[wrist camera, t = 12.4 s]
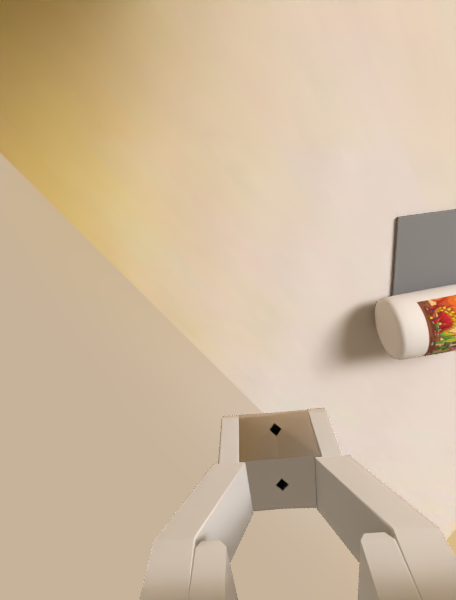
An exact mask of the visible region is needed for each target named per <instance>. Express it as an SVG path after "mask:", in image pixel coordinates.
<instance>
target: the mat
mask: <svg viewBox="0 0 456 600" xmlns="http://www.w3.org/2000/svg"><path fill="white" fill-rule="evenodd" d="M453 284H456V209H454V210H446V211H439V212H431V213H424V214H416V215H409V216H401V217H397V226H396V241H395V256H394V271H393V286H392V296H394V295H399V294H405V293H410V292H415V291H421V290H426V289H431V288H437V287H442V286H448V285H453Z"/></svg>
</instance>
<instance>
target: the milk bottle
mask: <svg viewBox="0 0 456 600" xmlns="http://www.w3.org/2000/svg"><path fill="white" fill-rule="evenodd" d="M375 323H376V328H377V332H378V335H379V338H380V341H381V343H382V345H383V347H384V349H385V350H386V352H387V353H388V354H389V355H390V356H391V357H393V358H395V359H408V358H414V357H420V356H426V355H432V354H438V353H444V352H450V351H456V284H453V285H448V286H442V287H437V288H431V289H426V290H421V291H415V292H410V293H405V294H399V295H394V296H389V297H385V298H382V299H380V300H379V301H378V302H377V304H376V307H375Z"/></svg>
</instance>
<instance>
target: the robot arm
mask: <svg viewBox="0 0 456 600" xmlns="http://www.w3.org/2000/svg"><path fill="white" fill-rule="evenodd" d="M284 508H285V509H286V508H317V510H318V511H319V512H320V513H321V515H322V516H323V517H324V518H325V520H326V521H327V522H328V523H329V525H330V526H331V527H332V529H333V530H334V531H335V532H336V534H337V535H338V536H339V537H340V539H341V540H342V541H343V542H344V544H345V545H346V546H347V548H348V549H349V550H350V551H351V553H352V554H353V555H354V556H355V558H356V559H357V560H358V562H359V563H360V564H359V588H358V600H456V556H455V554H454V553H453V551H452V549H451V547H450V545H449V544H448V542H447V540H446V538H445V537H444V535H443V533H442V531H441V530H440V528H439V527H438V526H436V525H435V524H434V523H433V522H432V521H430V520H429V519H428V518H427V517H425V516H424V515H423V514H422V513H420V512H419V511H418V510H417V509H415V508H414V507H413V506H412V505H410V504H409V503H408V502H407V501H406V500H404V499H403V498H402V497H401V496H399V495H398V494H397V493H396V492H394V491H393V490H392V489H391V488H389V487H388V486H387V485H386V484H385V483H383V482H382V481H381V480H380V479H378V478H377V477H376V476H375V475H373V474H372V473H371V472H370V471H368V470H367V469H366V468H365V467H364V466H362V465H361V464H360V463H359V462H357V461H356V460H355V459H354V458H352V457H351V456H350V455H343V453H342V450H341V448H340V445H339V442H338V440H337V437H336V434H335V432H334V429H333V426H332V424H331V421H330V418H329V416H328V413H327V410H326V409H325V408H317V409H307V410H298V411H287V412H276V413H263V414H247V415H236V416H223V417H222V421H221V433H220V446H219V461H218V464H213V465H212V466H211V468H210V469H209V470H208V471H207V473H206V474H205V475H204V477H203V478H202V479H201V481H200V482H199V483H198V484H197V486H196V487H195V488H194V490H193V491H192V492H191V494H190V495H189V496H188V497H187V499H186V500H185V501H184V502H183V504H182V505H181V506H180V508H179V509H178V510H177V512H176V513H175V514H174V516H173V517H172V518H171V519H170V521H169V522H168V523H167V525H166V526H165V527H164V528H163V530H162V531H161V532H160V534H159V535H158V536H157V538H156V539H155V540H154V541H153V545H152V550H151V554H150V558H149V562H148V566H147V571H146V575H145V579H144V583H143V587H142V592H141V596H140V600H238V598H237V593H236V589H235V584H234V580H233V576H232V571H231V567H230V562H231V560H232V558H233V556H234V554H235V551H236V549H237V547H238V545H239V543H240V541H241V538H242V537H243V535H244V532H245V530H246V528H247V526H248V524H249V522H250V519H251V517H252V515H253V511H261V510H274V509H284Z"/></svg>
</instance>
